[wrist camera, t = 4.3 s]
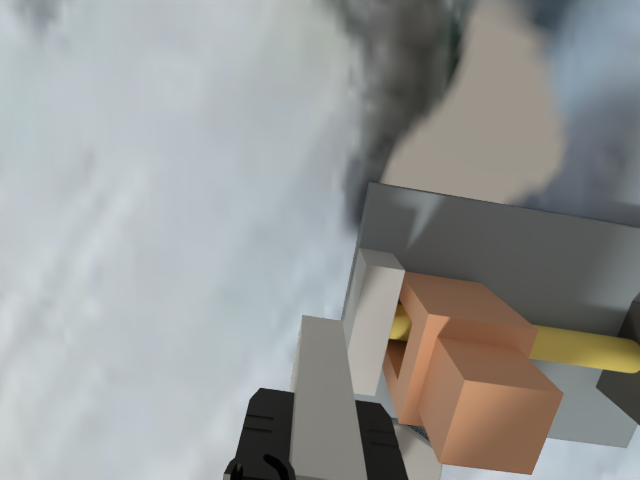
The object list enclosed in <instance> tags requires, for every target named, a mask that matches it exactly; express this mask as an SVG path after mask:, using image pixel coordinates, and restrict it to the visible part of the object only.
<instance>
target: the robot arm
mask: <svg viewBox="0 0 640 480" xmlns="http://www.w3.org/2000/svg"><path fill="white" fill-rule="evenodd" d="M223 480H409V479H408V475H407V472H406V468H405V465H404V461H403V458H402V454H401V451H400V449H399V444H398V440H397V437H396V436H395V429H394V426H393V422H392V419H391V417H390V415H389V414H388V413H387V411H386V410H385V409H384V407H383V406H382V405H381V403H375V402H367V401H360V400H355V398H354V392H353V386H352V379H351V373H350V367H349V360H348V354H347V348H346V342H345V335H344V329H343V323H342V321H338V320H332V319H325V318H318V317H312V316H305V315H302V320H301V326H300V332H299V337H298V343H297V348H296V354H295V360H294V365H293V371H292V377H291V385H290V392H287V391H279V390H272V389H265V388H260V389H259V390H258V391H257V392H256V393H255V394H254V395H253V396H252V398H251V399H250V401H249V405H248V409H247V413H246V417H245V421H244V424H243V429H242V432H241V436H240V440H239V444H238V448H237V452H236V456H235V458H234V459H233V460H231V461H230V463H229V465H228V466H227V468H226V470H225V472H224V476H223Z"/></svg>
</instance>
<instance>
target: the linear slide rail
mask: <svg viewBox="0 0 640 480" xmlns="http://www.w3.org/2000/svg"><path fill="white" fill-rule="evenodd" d="M405 271H406V272H412V273H419V274H425V275H432V276H438V277H444V278H451V279H457V280H464V281H470V282H477V283H482V284H483V285H484V286H485V287H487V288H488V289H489V290H490V291H492V292H493V293H494V294H495V295H496V296H498V297H499V298H500V299H501V300H502V301H504V302H505V303H506V304H507V305H509V306H510V307H511V308H512V309H513V310H515V311H516V312H517V313H518V314H519V315H521V316H522V317H523V318H524V319H526V320H527V321H528V322H529V323H530V324H532V325H533V326H534V327H535V328H536V329H538V330H539V331H538V334H537V336H536V339H535V342H534V345H533V347H532V350H531V353H530V356H529V360H530V361H531V362H532V363H533V364H534V365H535V366H536V367H537V368H538V369H539V370H541V371H542V372H543V373H544V374H545V375H546V376H547V377H548V378H549V379H550V380H551V381H552V382H553V383H554V384H555V385H556V386H557V387H558V388H559V389H560V390H561V391H562V392H563V393H564V395H563V398H562V400H561V403H560V405H559V408H558V410H557V413H556V415H555V418H554V420H553V423H552V425H551V428H550V430H549V433H548V435H547V438H553V439H560V440H568V441H576V442H583V443H591V444H599V445H606V446H614V447H622V448H627V446H628V444H629V442H630V440H631V438H632V436H633V434H634V432H635V430H636V428H637V426H638V424H639V425H640V227H634V226H629V225H623V224H617V223H611V222H605V221H599V220H593V219H587V218H581V217H576V216H570V215H564V214H558V213H552V212H546V211H540V210H534V209H528V208H522V207H517V206H511V205H505V204H499V203H493V202H487V201H481V200H475V199H469V198H463V197H457V196H451V195H446V194H440V193H434V192H428V191H422V190H416V189H410V188H405V187H399V186H393V185H387V184H381V183H375V182H369V183H368V188H367V193H366V198H365V203H364V208H363V213H362V218H361V223H360V228H359V233H358V237H357V242H356V247H355V252H354V257H353V262H352V267H351V272H350V277H349V282H348V287H347V292H346V297H345V302H344V307H343V312H342V317H341V321H342V323H343V329H344V335H345V342H346V348H347V354H348V360H349V367H350V373H351V379H352V386H353V392H354V398H355V400H360V401H367V402H375V403H381V405H382V406H383V407H384V409H385V410H386V411H387V413H388V414H389V415H390V417H392V418H397V415H396V412H395V409H394V406H393V402H392V399H391V396H390V392H389V389H388V386H387V383H386V379H385V376H384V373H383V370H382V364H383V360H384V356H385V352H386V348H387V344H388V340H395V341H402V342H408V339H409V335H410V331H411V327H412V321H411V319H410V318H409V316H408V314H407V312H406V310H405V308H404V307H403V305H402V303H401V301H400V299H399V295H400V290H401V286H402V282H403V278H404V274H405Z"/></svg>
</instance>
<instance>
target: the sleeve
mask: <svg viewBox="0 0 640 480" xmlns="http://www.w3.org/2000/svg"><path fill="white" fill-rule="evenodd" d="M399 299H400V301H401V303H402V305H403V307H404V308H405V310H406V312H407V314H408V316H409V318H410V319H411V321H412V327H411V331H410V335H409V339H408V342H402V341H395V340H388V344H387V348H386V352H385V356H384V360H383V364H382V370H383V373H384V376H385V379H386V383H387V386H388V389H389V392H390V396H391V399H392V402H393V406H394V409H395V412H396V415H397V419H398V422H399V424H406V425H414V426H421V427H425V430H426V432H427V435H428V438H429V440H430V443H431V445H432V448H433V450H434V453H435V455H436V458H437V461H438V463H439V464H447V465H455V466H463V467H471V468H479V469H487V470H496V471H504V472H512V473H520V474H528V475H532V472H533V470H534V467H535V465H536V462H537V460H538V457H539V455H540V452H541V450H542V447H543V445H544V443H545V440H546V438H547V435H548V433H549V430H550V428H551V425H552V423H553V420H554V418H555V415H556V413H557V410H558V408H559V405H560V403H561V400H562V398H563V395H564V393H563V392H562V391H561V390H560V389H559V388H558V387H557V386H556V385H555V384H554V383H553V382H552V381H551V380H550V379H549V378H548V377H547V376H546V375H545V374H544V373H543V372H542V371H541V370H539V369H538V368H537V367H536V366H535V365H534V364H533V363H532V362H531V361H530V360H529V356H530V353H531V350H532V347H533V345H534V342H535V339H536V336H537V334H538V331H539V330H538V329H536V328H535V327H534V326H533V325H532V324H530V323H529V322H528V321H527V320H526V319H524V318H523V317H522V316H521V315H519V314H518V313H517V312H516V311H515V310H513V309H512V308H511V307H510V306H509V305H507V304H506V303H505V302H504V301H502V300H501V299H500V298H499V297H498V296H496V295H495V294H494V293H493V292H492V291H490V290H489V289H488V288H487V287H485V286H484V285H483V284H482V283H477V282H470V281H464V280H457V279H451V278H444V277H438V276H432V275H425V274H419V273H412V272H406V271H405V274H404V278H403V282H402V286H401V290H400V295H399Z"/></svg>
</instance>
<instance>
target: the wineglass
mask: <svg viewBox="0 0 640 480" xmlns="http://www.w3.org/2000/svg"><path fill="white" fill-rule="evenodd" d="M391 419H392V422H393V426H394V429H395V436H396V437H397V440H398V444H399V449H400V451H401V454H402V458H403V461H404V465H405V468H406V472H407V475H408V479H409V480H440V475H441V468H442V464H439V463H438V461H437V458H436V455H435V453H434V450H433V448H432V445H431V443H430V441H429V440H428V439H427V438H425V437H424V436H422V435H421V434H420V433H418V432H417V431H415V430H414V429H413V428H411V427H410V426H408V425H406V424H399V422H398V419H397V418H392V417H391Z"/></svg>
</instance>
